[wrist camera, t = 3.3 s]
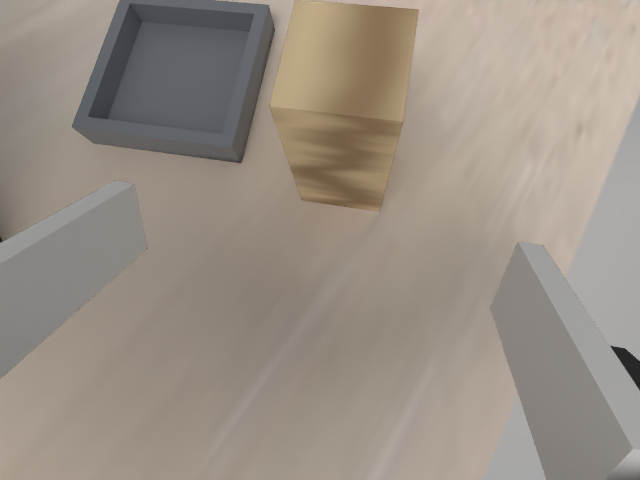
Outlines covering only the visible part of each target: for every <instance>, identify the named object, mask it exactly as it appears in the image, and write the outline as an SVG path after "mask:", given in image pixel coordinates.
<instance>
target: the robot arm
mask: <svg viewBox="0 0 640 480" xmlns="http://www.w3.org/2000/svg"><path fill="white" fill-rule="evenodd" d="M146 249H147V244H146V239H145V234H144V229H143V224H142V219H141V214H140V209H139V204H138V199H137V195H136V190H135V185H134V184H133V183H127V182H120V181H113V182H111V183H110V184H108V185H106V186H104V187H102V188H100V189H99V190H97V191H95V192H93V193H91V194H89V195H88V196H86V197H84V198H82V199H80V200H78V201H77V202H75V203H73V204H71V205H69V206H67V207H66V208H64V209H62V210H60V211H58V212H56V213H55V214H53V215H51V216H49V217H47V218H45V219H43V220H42V221H40V222H38V223H36V224H34V225H32V226H31V227H29V228H27V229H25V230H23V231H21V232H20V233H18V234H16V235H14V236H12V237H10V238H9V239H7V240H5V241H3V242H1V243H0V379H1V378H2V377H3V376H4V375H5V374H6V373H8V372H9V371H10V370H11V369H12V368H13V367H14V366H16V365H17V364H18V363H19V362H20V361H21V360H22V359H23V358H25V357H26V356H27V355H28V354H29V353H30V352H31V351H32V350H34V349H35V348H36V347H37V346H38V345H39V344H40V343H41V342H43V341H44V340H45V339H46V338H47V337H48V336H49V335H50V334H52V333H53V332H54V331H55V330H56V329H57V328H58V327H59V326H61V325H62V324H63V323H64V322H65V321H66V320H67V319H68V318H70V317H71V316H72V315H73V314H74V313H75V312H76V311H78V310H79V309H80V308H81V307H82V306H83V305H84V304H85V303H87V302H88V301H89V300H90V299H91V298H92V297H93V296H94V295H96V294H97V293H98V292H99V291H100V290H101V289H102V288H103V287H105V286H106V285H107V284H108V283H109V282H110V281H111V280H112V279H114V278H115V277H116V276H117V275H118V274H119V273H120V272H121V271H123V270H124V269H125V268H126V267H127V266H128V265H129V264H131V263H132V262H133V261H134V260H135V259H136V258H137V257H138V256H140V255H141V254H142V253H143V252H144V251H145V250H146ZM490 309H491V312H492V315H493V318H494V321H495V324H496V327H497V330H498V333H499V336H500V339H501V342H502V345H503V349H504V352H505V355H506V358H507V361H508V364H509V367H510V370H511V373H512V376H513V379H514V382H515V385H516V388H517V391H518V394H519V397H520V400H521V403H522V406H523V409H524V413H525V415H526V418H527V422H528V425H529V427H530V431H531V434H532V437H533V440H534V443H535V446H536V449H537V452H538V455H539V458H540V461H541V464H542V467H543V470H544V473H545V477H546V480H640V361H639V360H638V359H636V358H635V357H634V356H633V355H632V354H631V353H630V352H628V351H627V350H626V349H625V348H619V347H613V346H610V345H609V344H608V342H607V341H606V339H605V338H604V336H603V334H602V333H601V331H600V330H599V328H598V327H597V326H596V324H595V322H594V321H593V319H592V318H591V317H590V315H589V313H588V312H587V310H586V309H585V307H584V306H583V305H582V303H581V301H580V300H579V298H578V297H577V295H576V294H575V292H574V291H573V289H572V288H571V286H570V285H569V283H568V282H567V280H566V279H565V277H564V276H563V274H562V273H561V271H560V270H559V268H558V267H557V265H556V264H555V262H554V261H553V259H552V258H551V256H550V255H549V253H548V252H547V250H546V249H545V247H544V246H543V245H537V244H530V243H524V242H517V245H516V247H515V250H514V252H513V254H512V257H511V259H510V262H509V264H508V266H507V269H506V271H505V274H504V276H503V278H502V281H501V283H500V286H499V288H498V290H497V293H496V295H495V297H494V300H493V302H492V305H491V307H490Z"/></svg>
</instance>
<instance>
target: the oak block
mask: <svg viewBox="0 0 640 480" xmlns="http://www.w3.org/2000/svg"><path fill="white" fill-rule="evenodd" d="M418 13H419V9H407V8H394V7H382V6H369V5H357V4H344V3H332V2H320V1H307V0H295V1H294V6H293V10H292V14H291V18H290V22H289V26H288V31H287V35H286V39H285V43H284V47H283V51H282V55H281V60H280V64H279V68H278V72H277V76H276V80H275V84H274V89H273V93H272V97H271V101H270V105H269V107H270V110H271V113H272V115H273V118H274V121H275V124H276V127H277V130H278V133H279V136H280V139H281V142H282V144H283V147H284V150H285V153H286V156H287V159H288V162H289V165H290V168H291V171H292V173H293V176H294V179H295V182H296V185H297V188H298V191H299V194H300V197H301V199H302V200H303V201H310V202H317V203H324V204H331V205H338V206H345V207H352V208H359V209H365V210H372V211H379V212H380V209H381V205H382V201H383V197H384V193H385V189H386V186H387V182H388V178H389V174H390V170H391V166H392V163H393V159H394V155H395V151H396V147H397V143H398V139H399V136H400V132H401V128H402V124H403V119H404V112H405V105H406V98H407V91H408V84H409V77H410V69H411V62H412V55H413V48H414V41H415V34H416V27H417V20H418Z"/></svg>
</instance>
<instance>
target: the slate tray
mask: <svg viewBox="0 0 640 480" xmlns="http://www.w3.org/2000/svg"><path fill="white" fill-rule="evenodd" d="M274 30H275V29H274V25H273V21H272V16H271V12H270V8H269V5H263V4H251V3H239V2H227V1H215V0H120V1H119V4H118V6H117V9H116V11H115V14H114V17H113V19H112V22H111V25H110V27H109V30H108V33H107V35H106V38H105V40H104V43H103V46H102V48H101V51H100V54H99V56H98V59H97V61H96V64H95V67H94V69H93V72H92V75H91V77H90V80H89V83H88V85H87V88H86V90H85V93H84V96H83V98H82V101H81V104H80V106H79V109H78V111H77V114H76V117H75V119H74V122H73V125H72V127H73V128H74V129H75V130H77V131H78V132H79V133H81V134H82V135H83V136H85V137H86V138H87V139H89V140H90V141H91V142H93V143H97V144H104V145H111V146H119V147H126V148H134V149H141V150H148V151H156V152H163V153H170V154H178V155H185V156H192V157H200V158H207V159H215V160H222V161H229V162H237V163H241V162H242V158H243V154H244V150H245V146H246V142H247V138H248V134H249V130H250V126H251V122H252V118H253V114H254V110H255V106H256V102H257V98H258V94H259V90H260V86H261V82H262V78H263V74H264V70H265V66H266V62H267V58H268V54H269V50H270V46H271V42H272V38H273V34H274Z"/></svg>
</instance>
